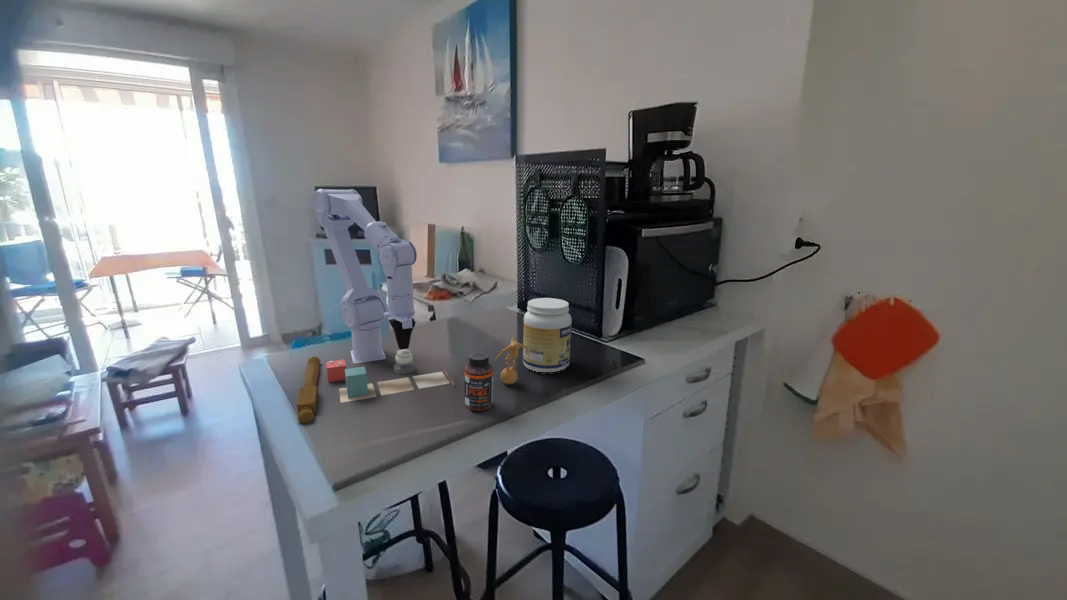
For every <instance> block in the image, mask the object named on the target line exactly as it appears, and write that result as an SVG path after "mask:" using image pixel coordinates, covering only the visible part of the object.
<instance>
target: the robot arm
mask: <svg viewBox="0 0 1067 600" xmlns="http://www.w3.org/2000/svg"><path fill="white" fill-rule="evenodd" d="M312 198H313V199H312V207H313V211H314V213H315V216H316V218H317V221H318V224H319V226H320V227H322V228H323V229H324V231H325V234H326V238H327V240H328V244H329V245H330V249H331V252H332V253H333V257H334V260H335V263H336V265H337V268H338V271H339V274H340V276H341V279H342V282H343V285H344V287H345V290H346V293H345V294H344V295H343V296H342V298H341V300H340V302H339V306H340V308H341V319H342V320H343V323H344V324H345V325H346V327H348V328H350V332H351V342H352V344H351V345H352V350H350V355H351V360H352V364H361V363H368V362H374V361H380V360H386V359H387V357H386V355H385V352H384V350H383V337H382V325H383V324H384V321H385V319H386V318H390V319H389V320H388V323H389V325H390V326H391V327H392V329H393V333H394V336H395V340H396V345H397V347H398V349H399V350H402V349H408V350H409V347H410V343H411V337H412V332H413V330H414V327H415V326H416V320H415V318H414V317H415V315H416V311H415V308H414V306H415V305H414V303H415V302H414V286H413V285H414V284H413V265H415V263H416V262H417V257H418V255H417V253H418V252H417V249H416V246H415V245H414V244H413V243H412V241H410V240H404V239H403V238H400V237H399V236H398V235H397V234H396V233H395V232H394V231H392V229H391V228H390V227H389V226H388V224H387V223H386V222H385V221H379V220H378V221H376V219H375V218H374V217H373V216H372V215H371V214H370V212H369V211H368V209H367V208H366V207H365V206H364V205H363V199H362V196H361V195H360V194H359V193H358V192H357V190H355V189H353V188H350V189H323V188H318V189H316V190H315V192H314V194H313V197H312ZM354 223H355V225H357V226H358V227H360V229H362V230H363V231H364V234H363V235H364V239H365V240H366V241H367V242H368V243H369V244H370V246H372V248H374V250H376V252H377V253H378V257H379V261H380V264H381V265H382V267H383V269H382V270H383V273H384V276H386V288H387V291H386V292H387V304H388V305H387V304H386V302H385V301H384V300H383V298H382V297H381V295H380V292H379V291H378V290H376V289H374V288H373V287H370V286H369V285H368V283H367V280H366V277H365V274H364V271H363V269H362V266H361V263H360V260H359V258H358V255H357V252H356V250H355V246H354V244H353V242H352V239H351V236H350V233H349V227H351V226H352V225H354Z"/></svg>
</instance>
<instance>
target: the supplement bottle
mask: <svg viewBox="0 0 1067 600" xmlns="http://www.w3.org/2000/svg"><path fill="white" fill-rule="evenodd" d="M489 358H490V357H489V354H487V353H486V352H481V351H479V352H473V353H471V354H469V356H468V363H467V364H466V365H465V366H464V369H463V371H464V373H463V374H464V380H463V381H464V384H463V385H464V391H463V392H464V396H463V397H464V399H463V400H464V406H465V407H466V408H468V409H469V410H470V411H472V412H483V411H487V410H489V409H490V408H492V406H493V403H494V402H493V401H494V367H493V365H492V364H491V363H490V362H489V361H490V360H489Z"/></svg>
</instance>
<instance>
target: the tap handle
mask: <svg viewBox="0 0 1067 600" xmlns="http://www.w3.org/2000/svg"><path fill="white" fill-rule="evenodd" d="M305 368H306V369H305V381H304V382H305V383H304V386H303V387H300V388H299V393H298V397H297V403H296V408H297V417H296V419H297V421H298V422H299V423H300V424H308V423H310V422H313V420H314V418H315V414H316V413H317V405H318V396H319V395H318V394H319V392H318V387H317V384H318V383H317V382H318V379H319V376H320V375H319V374H320V368H321V359H320V358H319V357H317V356H311V357H310V358H308V360H307V365H306V367H305Z"/></svg>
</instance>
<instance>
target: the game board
mask: <svg viewBox="0 0 1067 600" xmlns="http://www.w3.org/2000/svg"><path fill="white" fill-rule="evenodd" d="M443 372H444V373H443ZM412 378H413V380H414V382H415V384H416V386H417V388H418V390H421V389H425V388H432V387H437V386H438V387H439V386H443V385H448V384H450V382H451V384H452V385H453V387H454V388H457V386H456V384H455V382H454V381H453V379H452V378H451V377H450V376H449V373H447V371H446V370H445V368H443V369H442V371H437V372H432V373H425V374H420V375H419V374H418V375H413V376H412ZM449 381H450V382H449ZM376 384H377V386H378V389H379V393H380V395H381V397H383V396H387V395H388V396H389V395H393V394H398V393H405V392H409V391H414V390H415V388H414V386H413V384H412V381H411V380H410V378H409V377H408V376H407V377H406V376H405V377H401V378H397V379H396V378H395V379H390V380H383V381H378V382H377V381H376ZM367 387H368V395H364V396H358V397H353V398H348V395H347V388H346V387H341V388H338V392H339V393H338V394H339V399H340V400H339V401H340V404H344V403H349V402H355V401H359V400H366V399H371V398H377V394H376V390H375V387H374V384H373V383H367Z"/></svg>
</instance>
